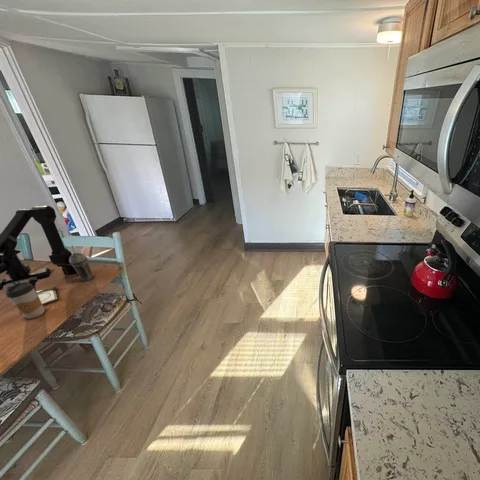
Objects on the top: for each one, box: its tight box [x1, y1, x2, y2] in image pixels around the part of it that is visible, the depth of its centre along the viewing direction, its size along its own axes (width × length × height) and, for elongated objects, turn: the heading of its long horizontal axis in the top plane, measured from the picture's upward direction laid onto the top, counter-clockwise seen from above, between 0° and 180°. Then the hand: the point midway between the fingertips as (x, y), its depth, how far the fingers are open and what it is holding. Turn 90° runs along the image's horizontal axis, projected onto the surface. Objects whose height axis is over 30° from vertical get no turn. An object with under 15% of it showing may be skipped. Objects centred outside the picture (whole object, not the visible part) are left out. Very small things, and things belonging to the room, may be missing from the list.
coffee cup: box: [5, 281, 45, 320], centre depth 117 cm, size 8×8×15 cm
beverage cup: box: [69, 244, 94, 282], centre depth 140 cm, size 7×7×20 cm
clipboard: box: [36, 288, 59, 306], centre depth 129 cm, size 12×14×1 cm
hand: (31, 293), depth 125 cm, fingers closed on stamp, 2 cm apart
